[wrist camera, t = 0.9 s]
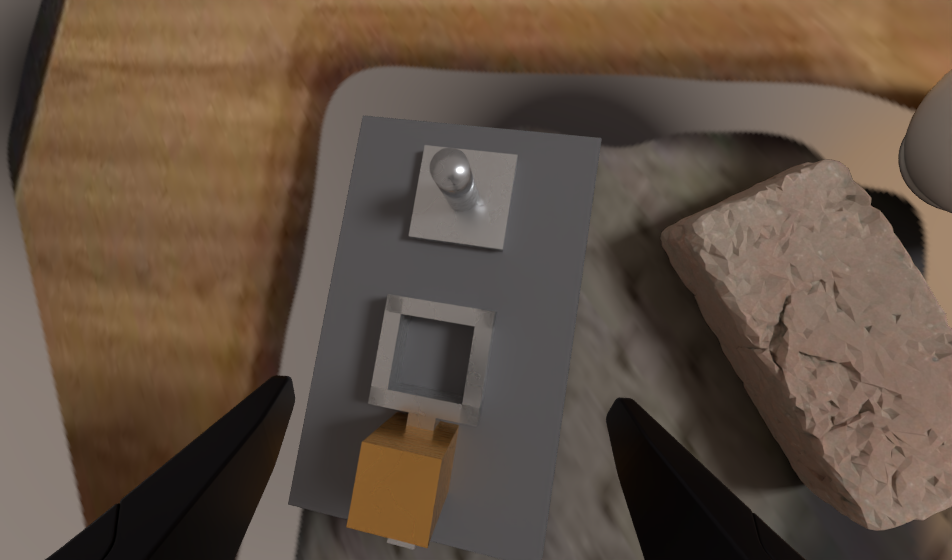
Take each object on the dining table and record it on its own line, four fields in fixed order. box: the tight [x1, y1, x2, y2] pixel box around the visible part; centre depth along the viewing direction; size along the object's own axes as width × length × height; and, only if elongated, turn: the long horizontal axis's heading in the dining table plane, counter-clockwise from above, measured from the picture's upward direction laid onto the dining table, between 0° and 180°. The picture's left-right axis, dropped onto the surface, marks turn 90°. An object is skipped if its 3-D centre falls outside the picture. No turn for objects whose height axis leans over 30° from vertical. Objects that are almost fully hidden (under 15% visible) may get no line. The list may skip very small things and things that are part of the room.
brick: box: [660, 159, 952, 530], centre depth 18 cm, size 16×8×5 cm, turn 26°
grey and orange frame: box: [347, 294, 497, 550], centre depth 19 cm, size 14×6×5 cm, turn 171°
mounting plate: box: [288, 116, 601, 560], centre depth 22 cm, size 26×16×1 cm, turn 171°
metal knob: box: [409, 145, 518, 251], centre depth 20 cm, size 6×6×5 cm
